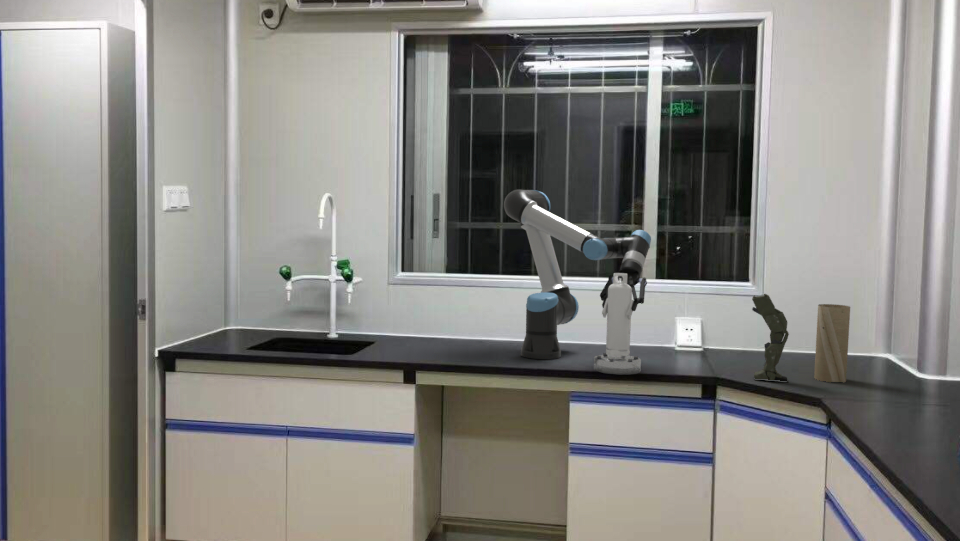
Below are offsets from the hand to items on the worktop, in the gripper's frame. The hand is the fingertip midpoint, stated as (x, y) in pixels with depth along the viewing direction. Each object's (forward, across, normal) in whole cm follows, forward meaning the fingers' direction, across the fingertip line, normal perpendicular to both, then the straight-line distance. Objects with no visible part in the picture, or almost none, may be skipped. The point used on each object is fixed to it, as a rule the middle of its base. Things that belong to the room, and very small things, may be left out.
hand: (615, 316), depth 286 cm
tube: (-6, -66, -34) cm, 75 cm away
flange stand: (+11, 0, -16) cm, 19 cm away
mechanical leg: (+3, -48, -25) cm, 54 cm away
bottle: (+7, 0, -12) cm, 14 cm away
